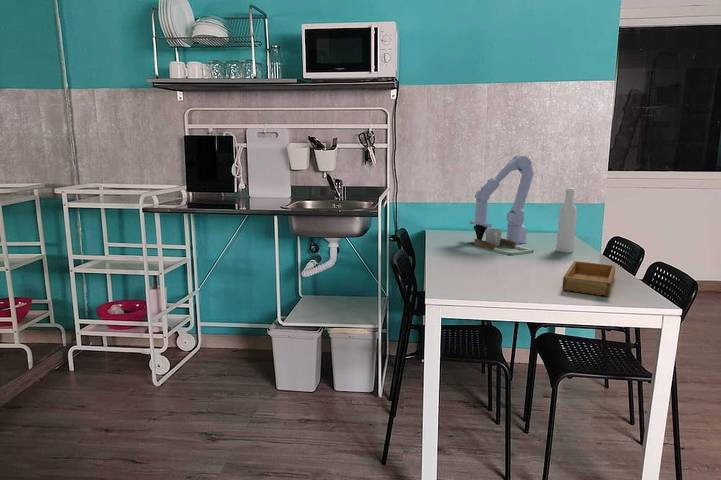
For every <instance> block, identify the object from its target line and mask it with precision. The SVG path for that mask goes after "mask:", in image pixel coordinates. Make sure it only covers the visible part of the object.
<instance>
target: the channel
mask: <svg viewBox="0 0 721 480" xmlns="http://www.w3.org/2000/svg"><path fill="white" fill-rule="evenodd" d="M473 242H474V245H473V246H477V247H480V248H484V249H487V250H491V251H494V248H497V246H496V244H494V243H491V242H487V241H486V240H483V239H482V240H480V239H477V238H474V240H473ZM498 246H503V247H507V248H512V249H515V246H517V244H516V242H514V241H510V240H506V238H502V237H501V239H500V244H499V245H498Z"/></svg>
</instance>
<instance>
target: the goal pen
mask: <svg viewBox="0 0 721 480" xmlns="http://www.w3.org/2000/svg"><path fill="white" fill-rule="evenodd" d="M514 249H516V251H508V250H504V249H500V248H497V247H496V248H494V250H493V251H494V252H497V253H500V254H504V255H507V256H515V255H517V256H518V255H523V254H524V255H525V254H533V253H534V249H531V248H528V247H523V246H520V245H516V246H515V248H514Z"/></svg>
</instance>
